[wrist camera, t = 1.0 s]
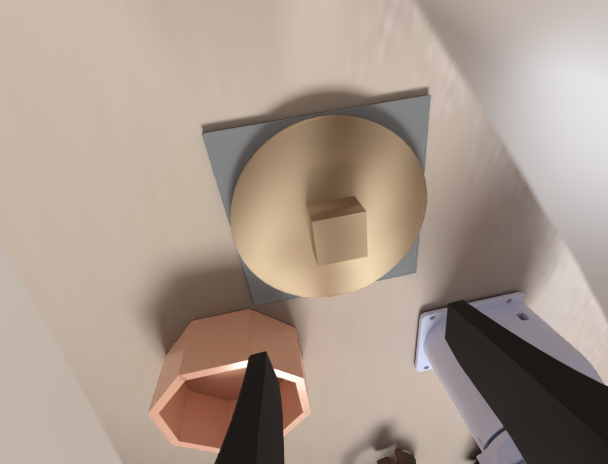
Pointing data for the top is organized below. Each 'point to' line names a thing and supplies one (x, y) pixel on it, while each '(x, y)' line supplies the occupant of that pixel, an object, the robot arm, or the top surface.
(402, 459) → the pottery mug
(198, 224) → the top surface
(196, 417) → the bowl
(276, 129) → the mat
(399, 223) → the lid
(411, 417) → the top surface
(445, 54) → the top surface
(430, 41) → the top surface
